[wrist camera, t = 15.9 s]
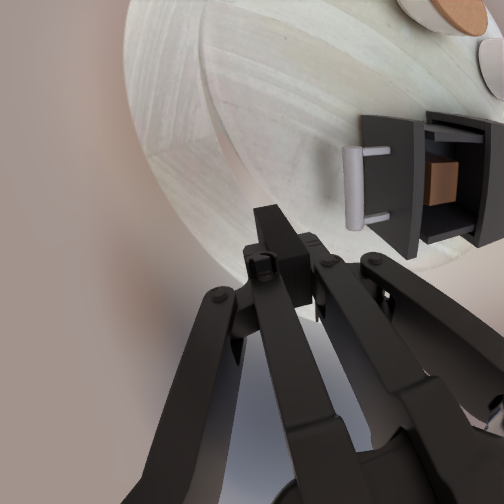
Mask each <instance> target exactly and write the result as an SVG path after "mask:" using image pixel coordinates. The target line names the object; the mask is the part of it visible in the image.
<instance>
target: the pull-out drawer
mask: <svg viewBox="0 0 504 504" xmlns="http://www.w3.org/2000/svg"><path fill="white" fill-rule="evenodd" d="M361 120H362V131H363V145H364V148H362V147H361V146H356V145H348V146H343V147H342V153H343V167H344V185H345V215H346V228H347V229H348V230H350V231H360V230H362V229H363V227H364V225H365V224H366V225H367V226H368V227H369V228H370V229H372V230H373V231H374V232H375V233H376V234H377V235H379V236H380V237H381V238H382V239H383V240H384V241H386V242H387V243H388V244H389V245H390V246H391V247H392V248H394V249H395V250H396V251H397V252H398V253H399V254H400V255H401V256H402V257H404V258H405V259H406V260H409V259H413V258H416V257H417V251H418V244H419V239H421V240H422V241H423V242H425V243H426V244H432V243H435V242H438V241H442V240H445V239H449V238H452V237H455V236H459V235H462V234H465V233H468V232H472V231H475V230H476V226H477V220H478V214H479V208H480V201H481V193H482V184H483V173H484V156H485V133H483V132H479V131H475V130H471V129H467V128H463V127H458V126H453V125H441V124H424V122H423V121H418V120H411V119H404V118H396V117H388V116H379V115H361ZM425 151H427V152H431V153H434V154H437V155H440V156H443V157H446V158H449V159H451V160H454V161H457V162H458V180H457V191H456V201H454V202H448V203H443V204H437V205H432V206H429V205H427V204H425V203H423V197H424V178H425ZM363 156H364V163H365V216H364V180H363Z"/></svg>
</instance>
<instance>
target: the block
mask: <svg viewBox="0 0 504 504" xmlns="http://www.w3.org/2000/svg"><path fill="white" fill-rule="evenodd" d="M457 180H458V162H457V161H454V160H451V159H449V158H446V157H443V156H440V155H437V154H434V153H431V152H427V151H425V178H424V197H423V203H425V204H427V205H429V206H432V205H437V204H443V203H448V202H454V201H456V191H457Z"/></svg>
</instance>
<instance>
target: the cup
mask: <svg viewBox="0 0 504 504" xmlns="http://www.w3.org/2000/svg"><path fill="white" fill-rule="evenodd" d="M479 63H480V68H481V72H482V75H483V77H484V80H485V82H486V84H487V86H488V88H489V89H490V91H491V92H492V93H493V94H494V95H495V96H496V97H497V98H498V99H500V100H502V101H504V39H500V38H488V39H485V40H483V41H482V42H481V44H480V47H479Z"/></svg>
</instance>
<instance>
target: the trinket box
mask: <svg viewBox="0 0 504 504" xmlns="http://www.w3.org/2000/svg"><path fill="white" fill-rule="evenodd" d="M397 2H398V4H399V6H400V7H401V8H402V10H403V11H404V12H405V13H406V14H407V15H408V16H409V17H410V18H412V19H413V20H415V21H416V22H418V23H419V24H421V25H422V26H424V27H426V28H427V29H429V30H432V31H434V32H437V33H440V34H444V35H451V36H481V35H483V34H484V33H485V32H486V29H487V25H488V19H487V13H486V9H485V6H484V3H483V1H482V0H397Z"/></svg>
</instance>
